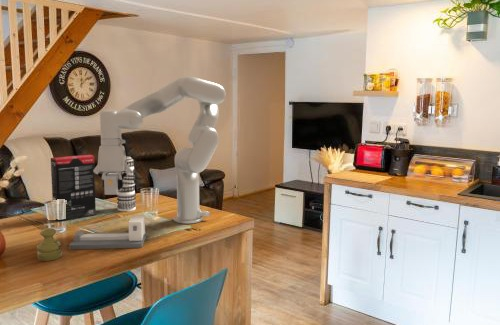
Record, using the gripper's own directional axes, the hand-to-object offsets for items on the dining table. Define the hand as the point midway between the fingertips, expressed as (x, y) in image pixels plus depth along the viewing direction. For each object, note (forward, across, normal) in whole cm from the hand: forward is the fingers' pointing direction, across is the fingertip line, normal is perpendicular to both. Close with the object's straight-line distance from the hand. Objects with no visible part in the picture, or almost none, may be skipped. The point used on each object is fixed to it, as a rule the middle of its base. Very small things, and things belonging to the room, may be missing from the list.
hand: (113, 188), depth 165 cm
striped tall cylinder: (+18, +2, -34) cm, 39 cm away
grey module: (+1, 0, 0) cm, 1 cm away
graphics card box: (+18, +22, -22) cm, 36 cm away
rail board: (+18, -1, +12) cm, 21 cm away
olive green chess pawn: (+18, +15, +26) cm, 35 cm away
